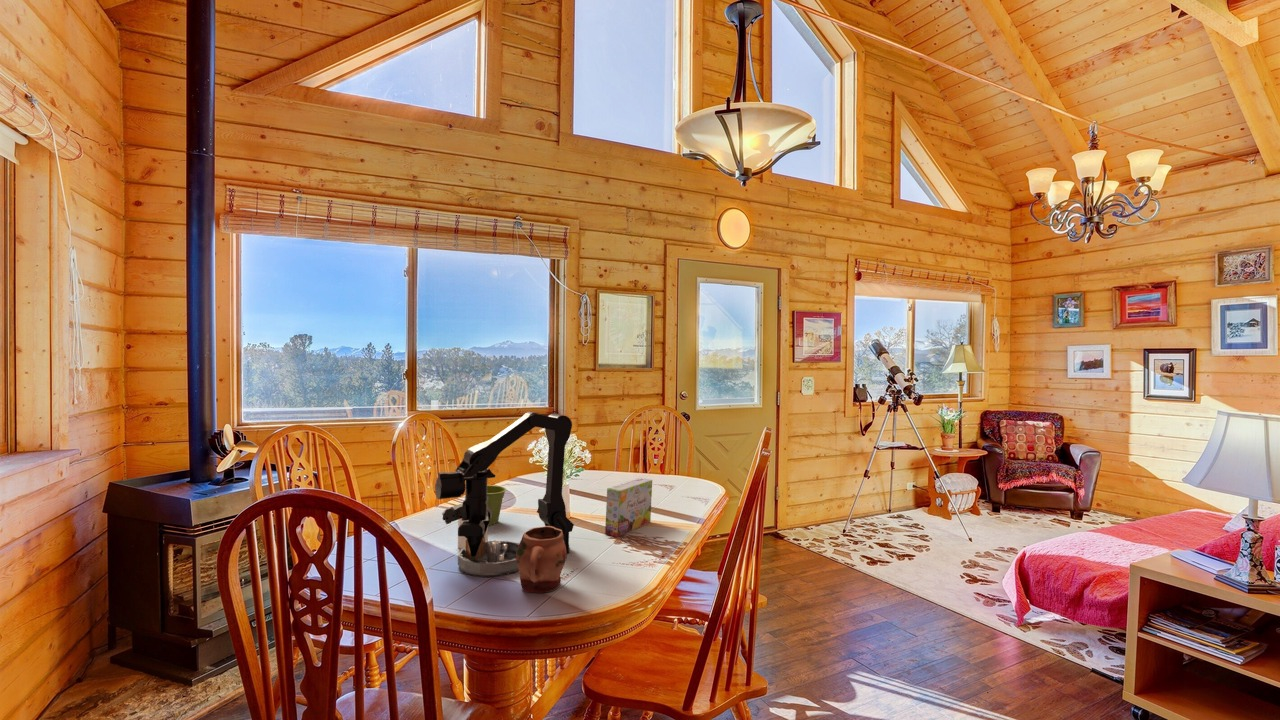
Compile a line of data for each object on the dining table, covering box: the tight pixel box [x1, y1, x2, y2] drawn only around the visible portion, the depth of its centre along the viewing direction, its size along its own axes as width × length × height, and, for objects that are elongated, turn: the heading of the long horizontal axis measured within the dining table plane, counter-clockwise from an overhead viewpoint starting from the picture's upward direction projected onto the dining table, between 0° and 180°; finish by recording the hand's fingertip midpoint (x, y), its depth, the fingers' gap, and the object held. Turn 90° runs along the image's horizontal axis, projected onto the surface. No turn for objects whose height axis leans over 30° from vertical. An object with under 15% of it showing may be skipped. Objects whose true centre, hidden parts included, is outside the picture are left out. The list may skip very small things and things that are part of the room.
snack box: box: [604, 477, 653, 538], centre depth 197 cm, size 21×6×15 cm, turn 150°
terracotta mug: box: [516, 525, 568, 594], centre depth 145 cm, size 20×12×14 cm, turn 2°
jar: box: [457, 504, 489, 550], centre depth 175 cm, size 9×8×12 cm
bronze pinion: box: [465, 536, 485, 560], centre depth 160 cm, size 5×5×5 cm
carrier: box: [457, 540, 520, 578], centre depth 160 cm, size 18×18×6 cm
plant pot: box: [487, 484, 507, 526], centre depth 199 cm, size 12×12×11 cm
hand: (475, 552), depth 160 cm, fingers closed on bronze pinion, 5 cm apart
